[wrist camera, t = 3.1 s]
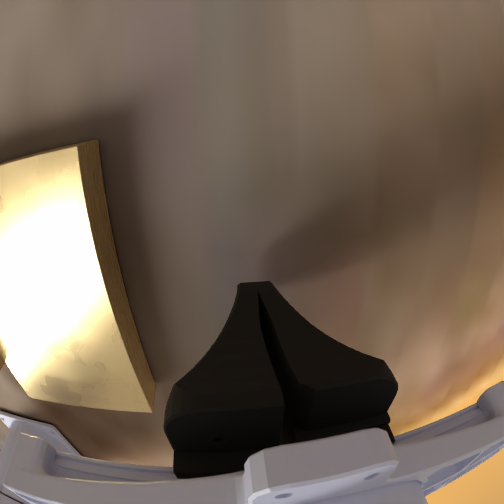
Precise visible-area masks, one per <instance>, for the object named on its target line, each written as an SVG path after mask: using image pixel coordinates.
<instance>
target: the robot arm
mask: <svg viewBox="0 0 504 504" xmlns="http://www.w3.org/2000/svg"><path fill="white" fill-rule="evenodd" d="M237 288H238V289H237V295H236V299H235V302H234V305H233V308H232V311H231V313H230V315H229V317H228V320H227V322H226V324H225V326H224V328H223V329H222V331H221V333H220V335H219V336H218V338H217V339H216V341H215V342H214V344H213V345H212V346H211V348H210V349H209V351H208V352H207V353H206V354H205V356H204V357H203V358H202V359H201V360H200V361H199V362H198V363H197V364H196V365H195V366H194V368H193V369H192V370H190V371H189V372H188V373H187V374H186V375H185V376H184V377H182V378H181V379H180V380H179V381H178V382H177V383H175V384H174V386H173V388H172V391H171V393H170V396H169V399H168V402H167V406H166V410H165V417H164V432H165V434H166V436H167V438H168V440H169V442H170V444H171V446H172V448H173V450H174V462H173V467H160V466H146V465H136V464H127V463H119V462H111V461H105V460H99V459H93V458H87V457H82V456H81V455H80V454H79V453H78V452H77V451H76V450H75V449H74V447H73V446H72V445H71V444H70V443H69V442H68V441H67V440H66V439H65V438H64V437H63V435H62V434H61V433H60V432H59V431H58V430H57V429H56V427H54V426H53V425H51V424H47V423H42V422H38V421H34V420H30V419H26V418H23V417H19V416H16V415H12V414H9V413H5V412H2V411H0V419H1V420H2V421H3V422H4V423H5V424H6V425H7V426H8V427H9V430H8V433H7V435H6V438H5V441H4V444H3V446H2V449H1V452H0V504H428V503H427V501H426V498H425V496H426V495H428V494H430V493H432V492H434V491H436V490H438V489H440V488H442V487H443V486H445V485H447V484H448V483H451V482H452V481H454V480H456V479H457V478H459V477H461V476H462V475H464V474H466V473H467V472H469V471H470V470H472V469H474V468H475V467H477V466H478V465H480V464H481V463H483V462H484V461H486V460H487V459H489V458H490V457H492V456H493V455H495V454H496V453H498V452H499V451H500V450H501V449H502V448H503V447H504V381H501V382H499V383H498V384H496V385H494V386H492V387H490V388H488V389H487V390H486V391H485V392H484V393H483V394H482V395H481V396H480V397H479V399H478V401H477V403H475V404H473V405H471V406H469V407H467V408H465V409H463V410H460V411H458V412H456V413H454V414H452V415H449V416H447V417H445V418H443V419H440V420H438V421H435V422H433V423H430V424H428V425H425V426H423V427H420V428H417V429H415V430H412V431H409V432H406V433H403V434H401V435H398V436H393V434H392V431H391V429H390V427H389V425H388V423H390V417H389V415H388V413H387V411H388V409H389V407H390V405H391V403H392V402H393V400H394V398H395V396H396V393H397V391H398V383H397V381H396V379H395V377H394V375H393V374H392V372H391V370H390V369H389V367H388V366H387V364H386V363H385V361H384V360H381V359H378V358H375V357H372V356H369V355H367V354H364V353H361V352H359V351H356V350H354V349H352V348H350V347H348V346H346V345H344V344H342V343H340V342H338V341H336V340H334V339H333V338H331V337H329V336H328V335H326V334H324V333H323V332H321V331H320V330H319V329H317V328H316V327H314V326H313V325H312V324H310V323H309V322H308V321H307V320H306V319H305V318H303V317H302V316H301V315H300V314H299V313H298V312H297V311H296V310H295V309H294V308H293V307H292V306H291V305H290V304H289V303H288V302H287V301H286V300H285V299H284V297H283V296H282V295H281V294H280V293H279V292H278V290H277V289H276V288H275V287H274V285H273V284H272V283H271V282H270V281H264V282H248V283H240V284H239V285H237Z"/></svg>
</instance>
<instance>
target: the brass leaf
mask: <svg viewBox="0 0 504 504" xmlns="http://www.w3.org/2000/svg"><path fill="white" fill-rule="evenodd" d="M4 362H6V363H7V365H8V367H9V368H10V370H11V371H12V373H13V374H14V376H15V377H16V379H17V380H18V382H19V383H20V385H21V386H22V387H23V389H24V390H25V392H26V393H27V394H28V396H29V397H30V398H35V399H39V400H45V401H50V402H55V403H61V404H68V405H74V406H81V407H89V408H97V409H107V410H118V411H131V412H149V413H152V412H153V405H154V398H155V391H156V385H155V382H154V380H153V377H152V374H151V371H150V369H149V366H148V363H147V360H146V357H145V354H144V351H143V348H142V345H141V342H140V339H139V336H138V333H137V329H136V326H135V323H134V319H133V316H132V313H131V309H130V305H129V302H128V298H127V295H126V291H125V287H124V283H123V279H122V275H121V271H120V267H119V262H118V258H117V254H116V249H115V244H114V240H113V235H112V230H111V224H110V219H109V213H108V208H107V202H106V196H105V189H104V182H103V175H102V167H101V159H100V150H99V140H93V141H87V142H82V143H77V144H72V145H67V146H63V147H58V148H54V149H50V150H46V151H42V152H38V153H34V154H30V155H26V156H23V157H19V158H15V159H12V160H9V161H5V162H2V163H0V370H1V368H2V366H3V364H4Z"/></svg>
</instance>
